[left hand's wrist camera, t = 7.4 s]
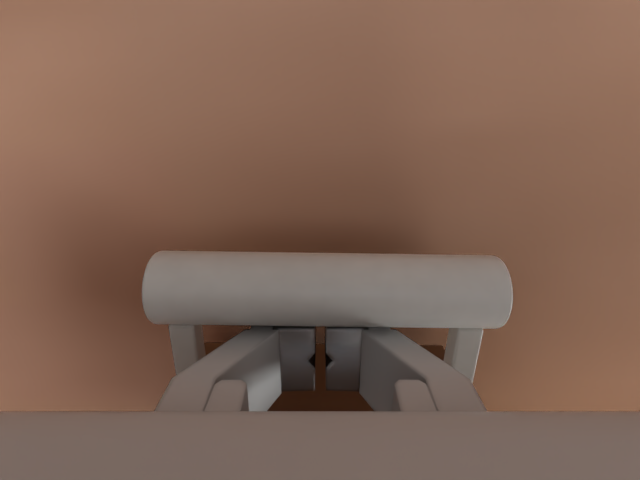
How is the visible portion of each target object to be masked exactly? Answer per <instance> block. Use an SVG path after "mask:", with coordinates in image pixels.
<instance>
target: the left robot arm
mask: <svg viewBox="0 0 640 480" xmlns="http://www.w3.org/2000/svg"><path fill="white" fill-rule="evenodd" d="M315 360H316V326H251V328H250V330H244V331H242V332H241V333H239V334H238V335H236V336H235V337H233V338H232V339H230V340H229V341H227V342H226V343H224V344H223V345H221V346H220V347H218V348H217V349H215V350H213V351H212V352H210V353H209V354H207V355H206V356H204V357H203V358H201V359H200V360H198V361H197V362H195V363H194V364H192V365H191V366H189V367H188V368H186V369H185V370H183V371H182V372H180V373H179V374H177V375H176V376H174V377H173V378H172V379H171V381H170V382H169V384H168V386H167V388H166V390H165V392H164V394H163V395H162V397H161V399H160V401H159V403H158V405H157V407H156V408H155V410H154V411H0V480H640V411H487V410H486V408H485V406H484V404H483V402H482V401H481V399H480V397H479V395H478V393H477V391H476V389H475V388H474V386H473V384H472V382H471V380H470V379H469V378H468V377H466V376H465V375H463V374H462V373H460V372H459V371H457V370H456V369H454V368H453V367H451V366H450V365H448V364H447V363H445V362H444V361H442V360H441V359H439V358H438V357H436V356H435V355H433V354H432V353H430V352H429V351H427V350H426V349H424V348H423V347H421V346H420V345H418V344H417V343H415V342H414V341H412V340H411V339H409V338H408V337H406V336H405V335H403V334H402V333H400V332H399V331H397V330H391V329H390V327H328V326H325V378H326V391H359V393H360V394H361V396H362V397H363V398H364V399H365V401H366V402H367V403H368V404H369V405H370V407H371V408H372V409H373V410H374V411H267V410H268V409H269V408H270V407H271V405H272V404H273V403H274V402H275V401H276V399H277V398H278V397H279V396H280V395H281V391H315Z"/></svg>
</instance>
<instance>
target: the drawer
mask: <svg viewBox="0 0 640 480" xmlns="http://www.w3.org/2000/svg"><path fill="white" fill-rule="evenodd" d="M142 303H143V308H144V312H145V315H146V317H147V318H148V320H149V321H150V322H152V323H154V324H169V333H170V340H171V346H172V352H173V358H174V365H175V371H176V375H177V374H179V373H180V372H182V371H183V370H185V369H186V368H188V367H189V366H191V365H192V364H194V363H195V362H197V361H198V360H200V359H201V358H203V357H204V356H206V355H207V354H209V353H210V352H212V351H213V350H215V349H217V348H218V347H220V346H221V345H223V344H224V343H212V342H204V337H203V329H202V325H251V326H328V327H404V328H449V331H448V337H447V343H446V349H445V350H444V348H443V346H441V345H420V346H421V347H423V348H424V349H426V350H427V351H429V352H430V353H432V354H433V355H435V356H436V357H438V358H439V359H441V360H442V361H444V362H445V363H447V364H448V365H450V366H451V367H453V368H454V369H456V370H457V371H459V372H460V373H462V374H463V375H465V376H466V377H468V378H469V379H470V380H471V382H472V383H473V379H474V374H475V369H476V364H477V360H478V355H479V350H480V345H481V340H482V336H483V329H497V328H500V327H502V326H503V325H505V324H506V322H507V321H508V319H509V316H510V314H511V310H512V304H513V288H512V281H511V277H510V274H509V271H508V269H507V267H506V265H505V263H504V262H503V261H502V260H501V259H500V258H499V257H496V256H494V255H447V254H375V253H303V252H232V251H159V252H156V253H155V254H154V255H153V256H152V257H151V258H150V260H149V262H148V264H147V266H146V269H145V272H144V277H143V283H142ZM267 411H374V410H373V409H372V408H371V407H370V405H369V404H368V403H367V402H366V401H365V399H364V398H363V397H362V396H361V394H360V393H359V391H326V378H325V344H316V360H315V391H281V395H280V396H279V397H278V398H277V399H276V401H275V402H274V403H273V404H272V405H271V407H270V408H269V409H268V410H267Z"/></svg>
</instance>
